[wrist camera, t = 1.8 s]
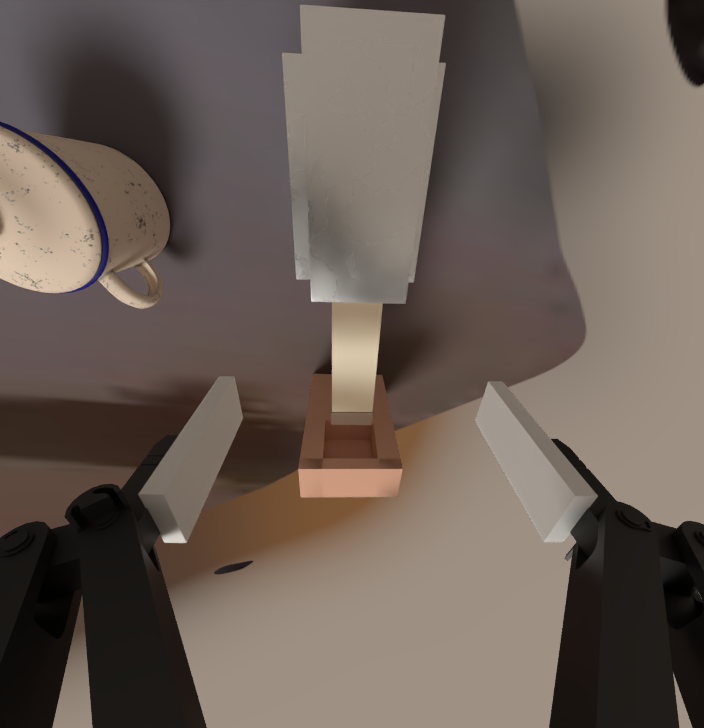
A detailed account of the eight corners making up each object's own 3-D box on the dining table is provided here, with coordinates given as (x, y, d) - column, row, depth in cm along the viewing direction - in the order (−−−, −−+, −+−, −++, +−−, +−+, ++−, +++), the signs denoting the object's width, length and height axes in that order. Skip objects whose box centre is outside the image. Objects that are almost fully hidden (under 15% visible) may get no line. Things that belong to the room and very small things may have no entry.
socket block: (313, 373, 33) (298, 468, 22) (382, 374, 34) (402, 468, 22) (314, 397, 35) (300, 497, 24) (379, 398, 35) (397, 496, 24)
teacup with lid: (29, 183, 23) (-210, 178, 13) (106, 111, 21) (-108, 41, 11) (150, 308, 29) (48, 371, 19) (221, 261, 27) (148, 305, 17)
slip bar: (332, 103, 15) (330, 85, 12) (393, 107, 15) (404, 89, 12) (332, 399, 24) (331, 424, 22) (368, 399, 25) (371, 424, 22)
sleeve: (302, 98, 21) (259, 1, 10) (411, 104, 21) (483, 17, 10) (308, 255, 26) (285, 300, 16) (394, 258, 27) (430, 304, 16)
